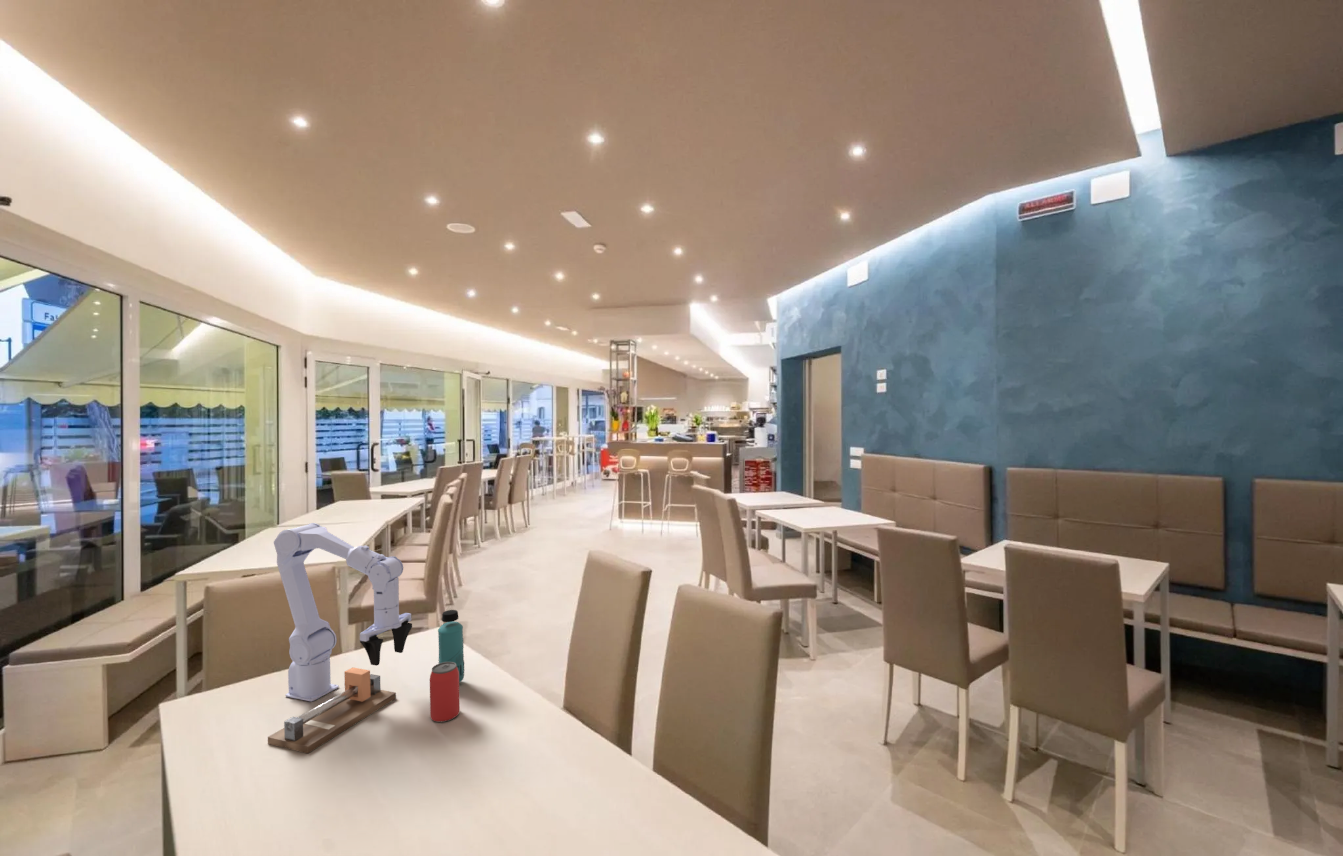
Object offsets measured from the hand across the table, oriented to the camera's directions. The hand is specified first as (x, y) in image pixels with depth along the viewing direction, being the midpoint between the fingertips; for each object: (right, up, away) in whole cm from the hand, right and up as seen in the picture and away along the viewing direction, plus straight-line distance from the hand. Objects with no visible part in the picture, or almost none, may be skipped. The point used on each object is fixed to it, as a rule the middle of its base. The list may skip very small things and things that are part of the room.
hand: (387, 658), depth 141 cm
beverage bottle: (+14, -10, +6) cm, 18 cm away
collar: (-5, -8, -4) cm, 10 cm away
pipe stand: (-7, -9, -10) cm, 15 cm away
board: (-7, -10, -10) cm, 16 cm away
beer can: (+19, -10, -9) cm, 23 cm away
